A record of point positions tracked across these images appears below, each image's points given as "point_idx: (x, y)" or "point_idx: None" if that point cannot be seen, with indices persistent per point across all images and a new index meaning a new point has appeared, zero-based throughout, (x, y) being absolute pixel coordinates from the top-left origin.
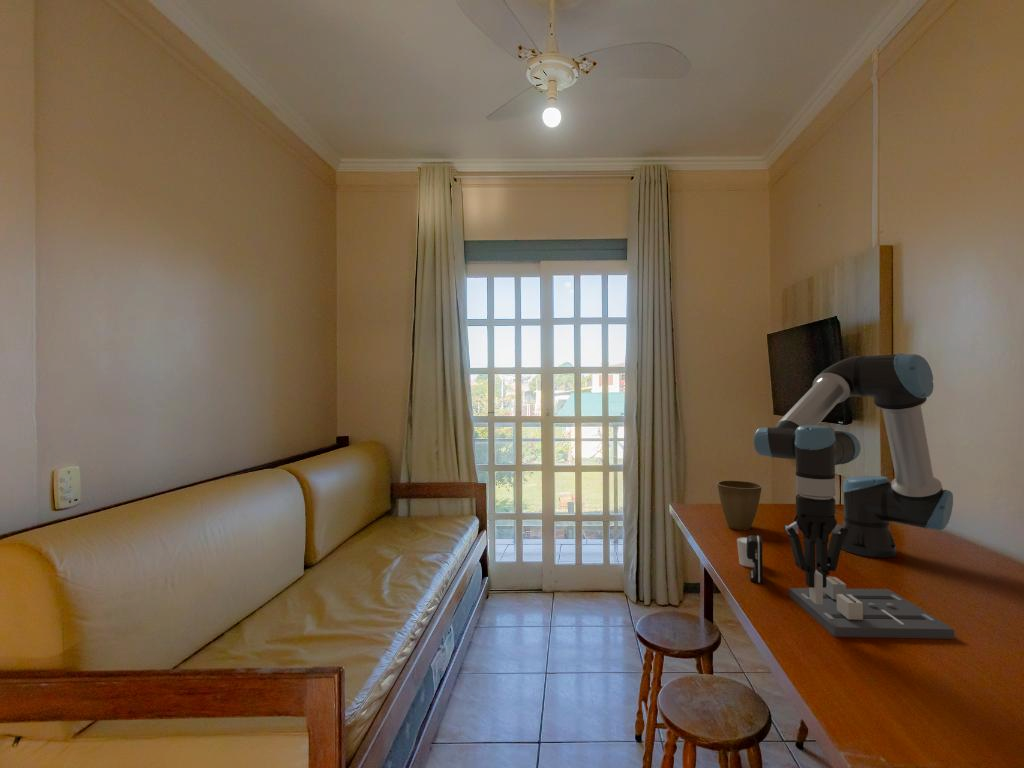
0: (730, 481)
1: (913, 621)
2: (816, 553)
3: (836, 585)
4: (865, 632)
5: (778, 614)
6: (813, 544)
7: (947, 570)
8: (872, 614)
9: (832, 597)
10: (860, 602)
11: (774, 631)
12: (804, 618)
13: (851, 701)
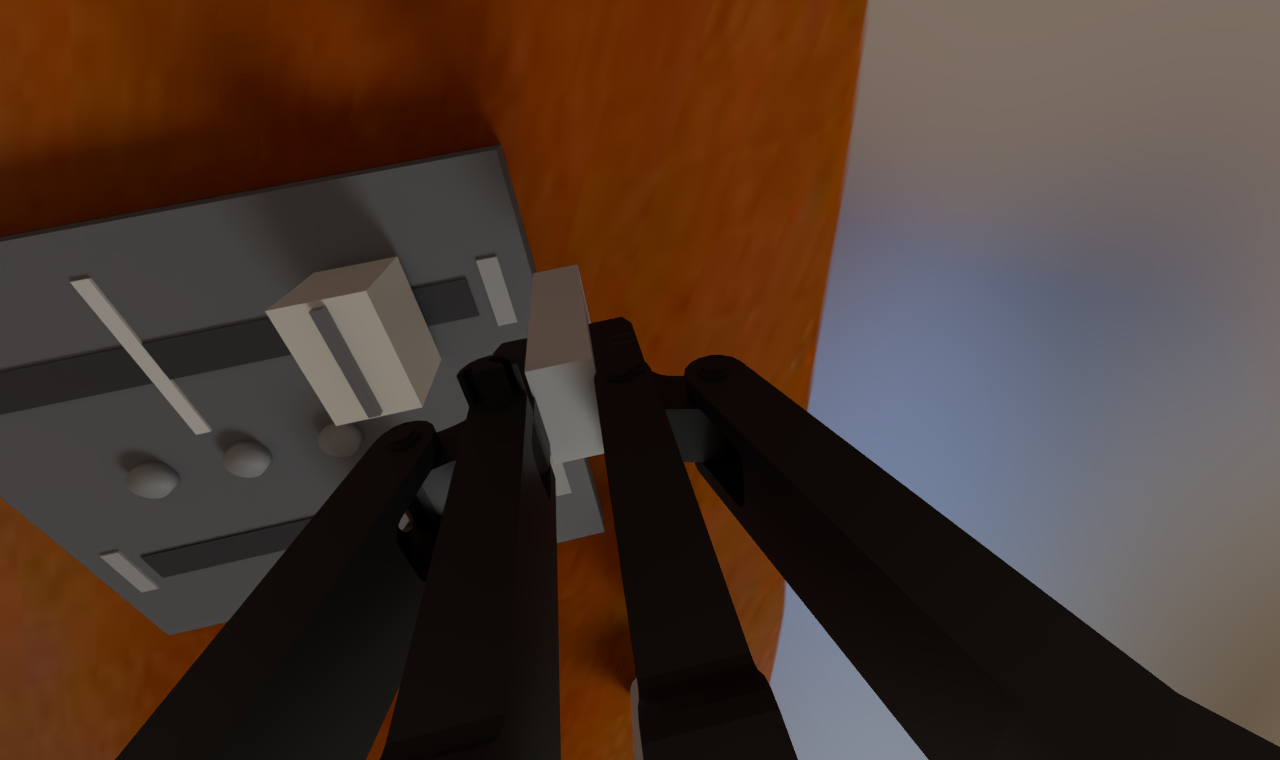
0: None
1: (23, 338)
2: (555, 593)
3: (402, 527)
4: (324, 179)
5: (700, 333)
6: (669, 663)
7: None
8: (258, 368)
9: None
10: (280, 319)
11: (786, 141)
12: (596, 321)
13: None
